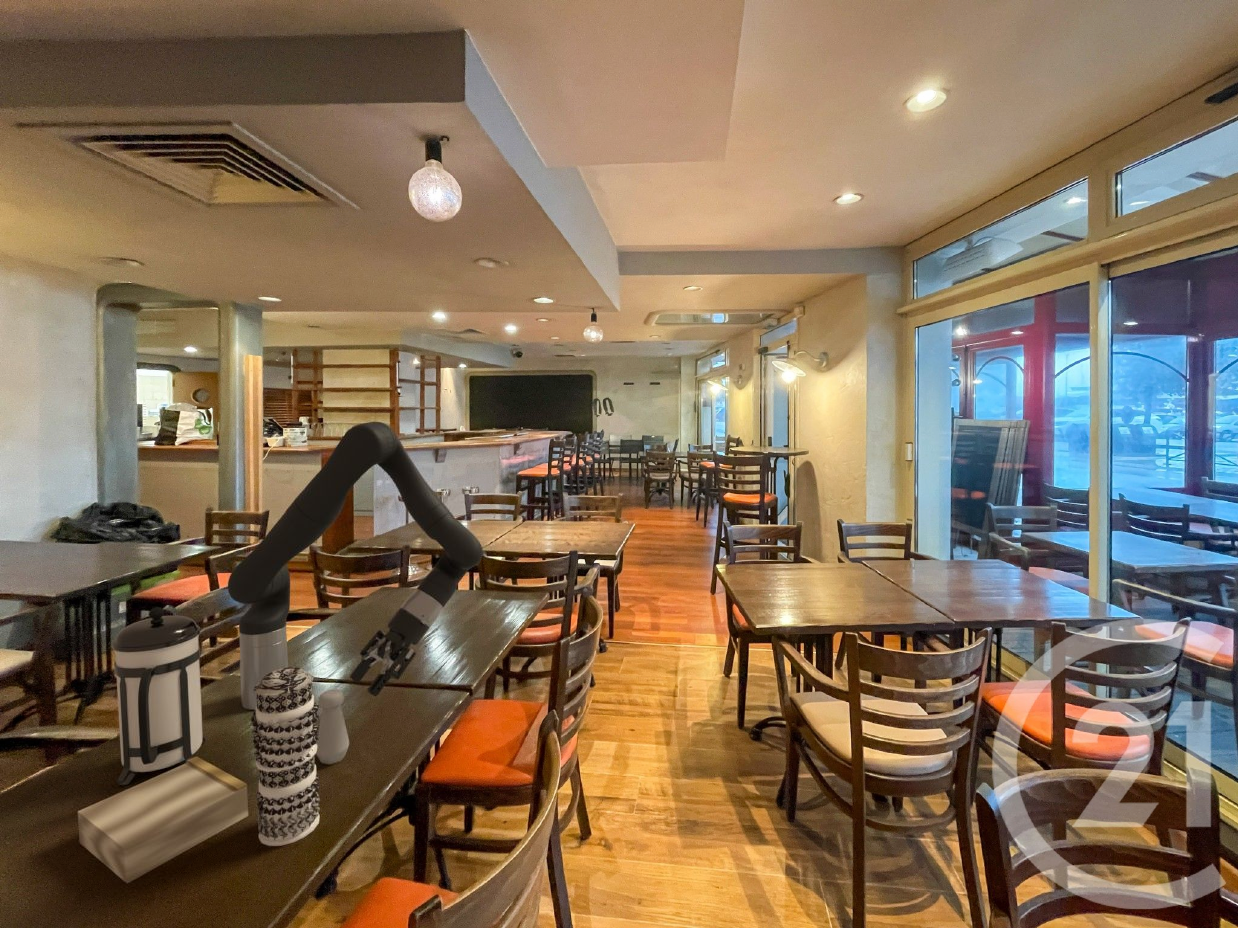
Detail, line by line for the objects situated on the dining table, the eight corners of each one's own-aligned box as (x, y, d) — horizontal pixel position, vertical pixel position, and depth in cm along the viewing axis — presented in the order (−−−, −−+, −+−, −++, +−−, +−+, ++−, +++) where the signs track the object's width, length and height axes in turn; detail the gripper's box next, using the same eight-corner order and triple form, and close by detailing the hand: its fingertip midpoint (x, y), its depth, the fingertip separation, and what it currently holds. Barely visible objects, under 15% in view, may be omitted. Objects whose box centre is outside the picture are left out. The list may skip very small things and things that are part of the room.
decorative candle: (294, 851, 86) (288, 689, 84) (240, 843, 87) (234, 684, 86) (335, 811, 95) (330, 663, 93) (285, 804, 96) (280, 659, 95)
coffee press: (85, 779, 103) (75, 616, 101) (181, 735, 118) (174, 592, 116) (145, 803, 96) (136, 629, 95) (238, 753, 111) (232, 602, 109)
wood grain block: (79, 842, 87) (77, 808, 87) (197, 785, 101) (196, 756, 101) (127, 883, 80) (125, 846, 79) (248, 815, 93) (246, 783, 93)
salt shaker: (335, 768, 106) (333, 701, 105) (308, 765, 107) (306, 698, 107) (355, 751, 112) (354, 686, 111) (330, 748, 113) (328, 684, 112)
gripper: (388, 599, 124) (334, 667, 116) (419, 614, 114) (362, 689, 106) (412, 618, 128) (361, 684, 120) (444, 633, 118) (391, 707, 110)
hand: (362, 686), depth 113 cm, fingers open, 8 cm apart
